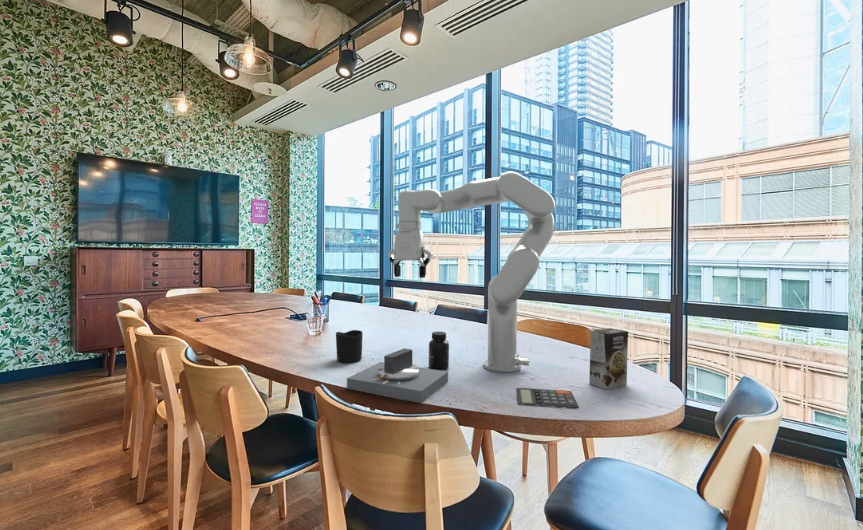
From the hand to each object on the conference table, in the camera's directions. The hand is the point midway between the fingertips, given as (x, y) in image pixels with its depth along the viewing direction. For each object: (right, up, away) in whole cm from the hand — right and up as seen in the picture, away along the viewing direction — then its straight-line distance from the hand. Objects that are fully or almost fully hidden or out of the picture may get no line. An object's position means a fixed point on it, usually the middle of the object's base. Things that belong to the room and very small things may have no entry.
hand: (409, 277), depth 137 cm
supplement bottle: (+10, -31, -3) cm, 32 cm away
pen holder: (-22, -30, +6) cm, 38 cm away
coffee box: (+60, -32, -19) cm, 70 cm away
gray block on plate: (-3, -28, -21) cm, 35 cm away
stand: (-2, -31, -20) cm, 37 cm away
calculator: (+38, -32, -30) cm, 58 cm away
